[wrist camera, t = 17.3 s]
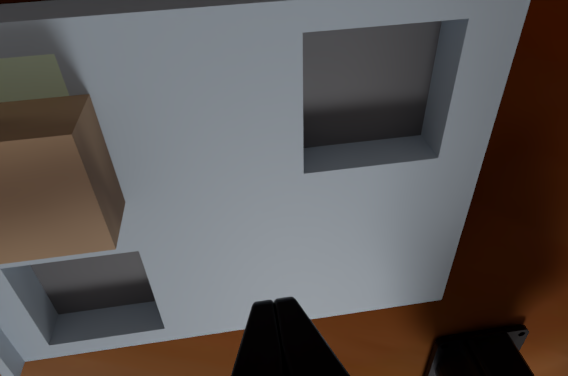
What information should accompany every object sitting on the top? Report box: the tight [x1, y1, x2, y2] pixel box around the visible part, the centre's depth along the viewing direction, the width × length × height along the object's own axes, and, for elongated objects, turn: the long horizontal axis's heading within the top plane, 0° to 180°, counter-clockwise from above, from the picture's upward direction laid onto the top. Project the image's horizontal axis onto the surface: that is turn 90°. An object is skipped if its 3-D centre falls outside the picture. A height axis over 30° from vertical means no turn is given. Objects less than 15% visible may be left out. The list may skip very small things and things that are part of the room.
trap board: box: [0, 0, 530, 376], centre depth 18 cm, size 16×22×3 cm
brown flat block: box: [0, 94, 125, 264], centre depth 14 cm, size 4×4×2 cm
